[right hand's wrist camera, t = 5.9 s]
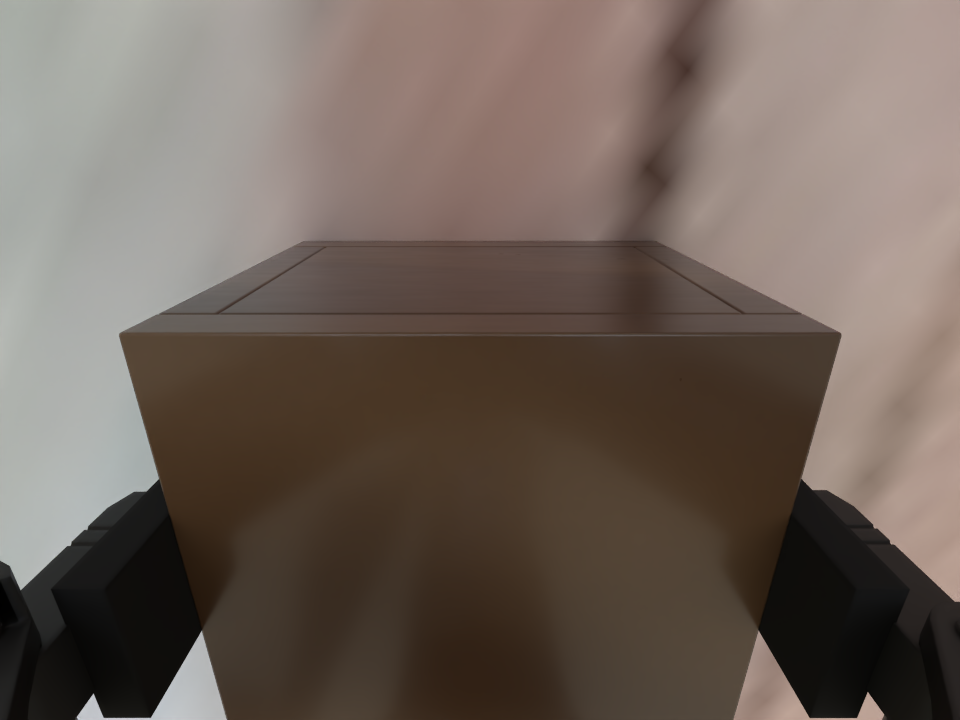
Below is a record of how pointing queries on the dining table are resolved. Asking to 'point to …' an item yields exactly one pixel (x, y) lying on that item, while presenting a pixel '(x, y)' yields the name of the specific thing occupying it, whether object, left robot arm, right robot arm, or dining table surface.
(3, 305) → the dining table surface
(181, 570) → the right robot arm
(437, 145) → the dining table surface
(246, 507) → the cabinet
